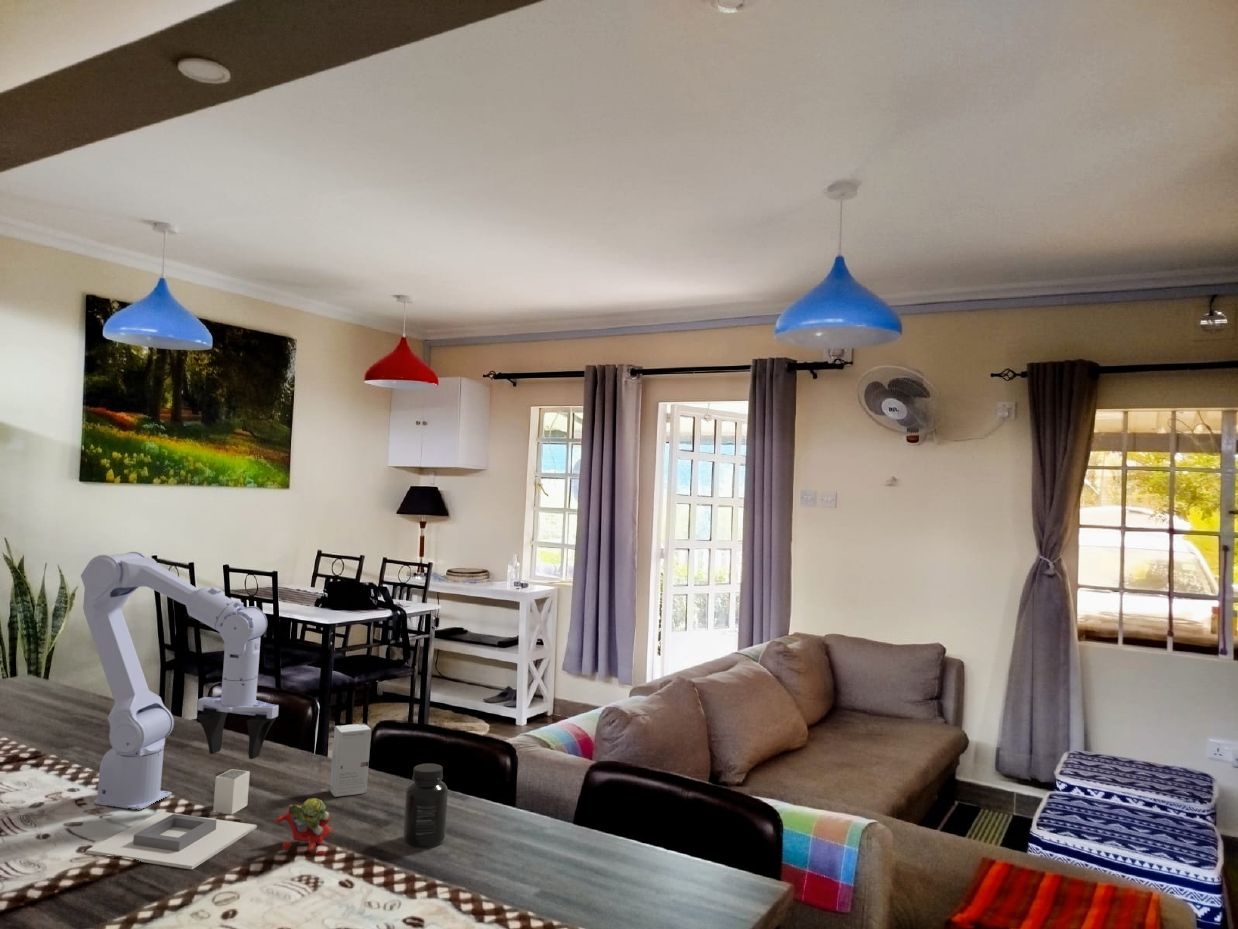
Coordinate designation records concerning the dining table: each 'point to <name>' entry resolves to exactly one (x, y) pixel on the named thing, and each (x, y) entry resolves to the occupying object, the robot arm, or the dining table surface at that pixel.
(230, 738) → the dining table surface
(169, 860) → the socket plate
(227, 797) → the light grey box
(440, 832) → the supplement bottle
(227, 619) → the robot arm
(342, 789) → the skincare box
